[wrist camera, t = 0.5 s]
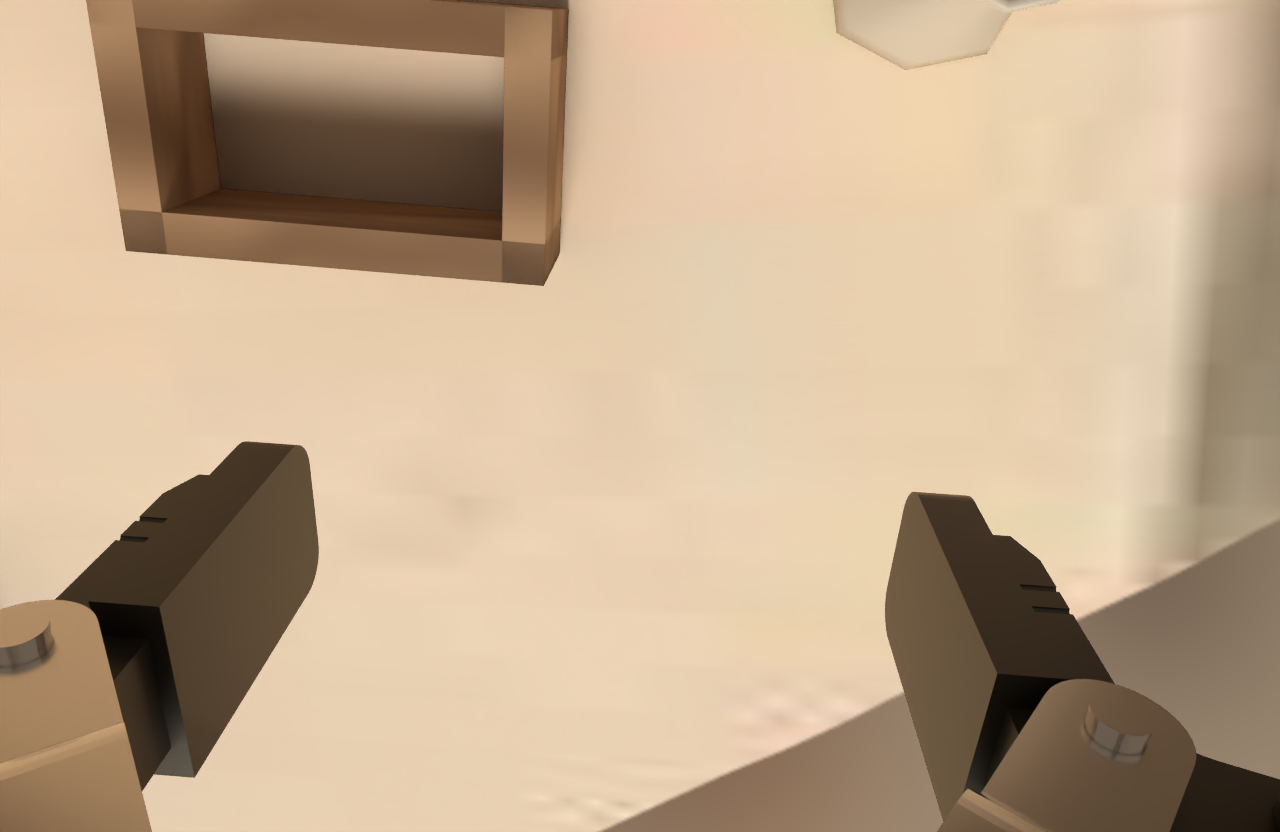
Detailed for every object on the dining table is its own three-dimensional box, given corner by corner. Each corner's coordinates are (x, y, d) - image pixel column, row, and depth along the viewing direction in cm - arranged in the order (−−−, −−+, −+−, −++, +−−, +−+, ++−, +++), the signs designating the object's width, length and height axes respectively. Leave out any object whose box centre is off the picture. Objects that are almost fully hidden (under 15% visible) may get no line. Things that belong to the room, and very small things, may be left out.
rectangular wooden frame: (155, -25, 33) (81, -28, 29) (568, 9, 33) (552, 10, 29) (187, 223, 37) (125, 250, 33) (559, 254, 37) (543, 285, 33)
